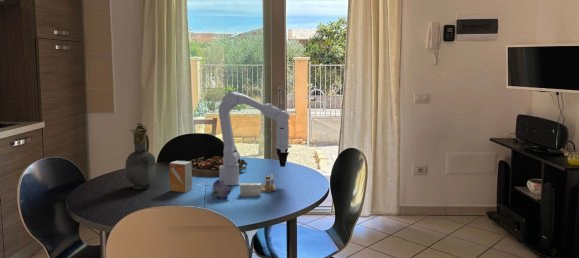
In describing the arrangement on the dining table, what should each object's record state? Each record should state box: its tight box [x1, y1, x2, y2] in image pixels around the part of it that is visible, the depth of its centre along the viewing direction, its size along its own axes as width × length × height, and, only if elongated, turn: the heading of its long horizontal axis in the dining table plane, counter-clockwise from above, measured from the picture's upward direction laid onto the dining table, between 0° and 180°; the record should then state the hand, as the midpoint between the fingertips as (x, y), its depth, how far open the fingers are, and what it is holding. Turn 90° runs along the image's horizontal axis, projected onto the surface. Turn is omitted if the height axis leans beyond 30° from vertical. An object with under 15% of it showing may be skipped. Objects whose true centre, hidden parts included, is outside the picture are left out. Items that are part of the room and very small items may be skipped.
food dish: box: [187, 155, 248, 178], centre depth 263 cm, size 35×33×8 cm
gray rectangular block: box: [239, 182, 262, 197], centre depth 215 cm, size 9×4×5 cm, turn 92°
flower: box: [210, 178, 232, 201], centre depth 209 cm, size 9×8×10 cm
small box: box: [168, 160, 193, 193], centre depth 221 cm, size 8×6×13 cm
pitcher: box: [125, 122, 157, 190], centre depth 226 cm, size 11×19×30 cm, turn 178°
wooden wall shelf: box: [261, 173, 276, 193], centre depth 225 cm, size 13×11×6 cm
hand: (282, 164), depth 230 cm, fingers open, 7 cm apart
